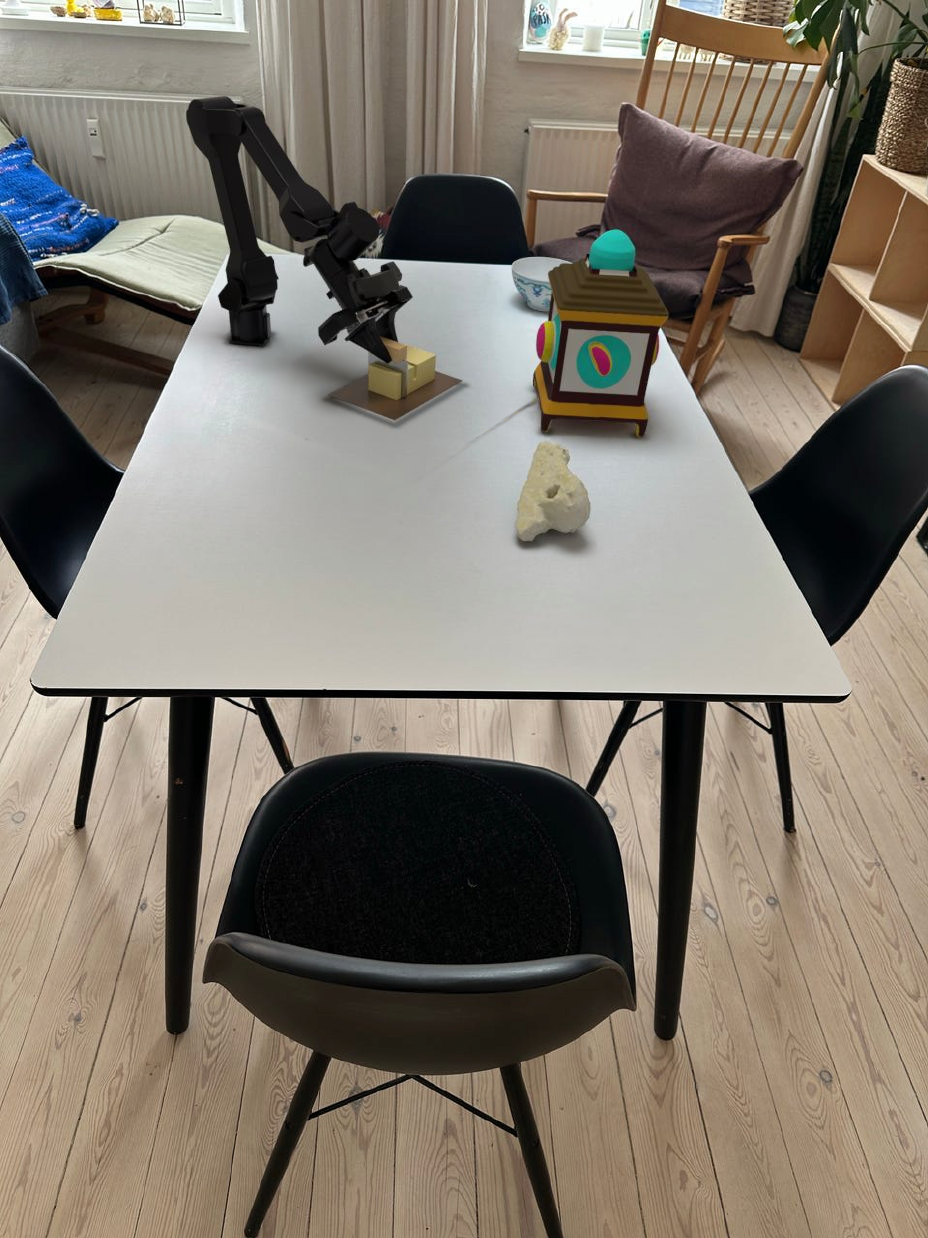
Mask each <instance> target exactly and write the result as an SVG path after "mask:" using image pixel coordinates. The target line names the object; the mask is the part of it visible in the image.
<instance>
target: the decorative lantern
mask: <svg viewBox="0 0 928 1238" xmlns="http://www.w3.org/2000/svg"><path fill="white" fill-rule="evenodd" d="M635 260H636V248H635V245H634V244H633V242H632V240H631V238H630V237H629V236H628V234H626V232H624V231H622V230H620V229H611V230H608V231H606V232H604V233H603V234H601V235H600V236H598V238H597V239H595V241H593V242H592V245H591V247H590V250H589V253H586V254H585V257H584V258H583V257H582V258H579V259H578V261H573V262H571V263H572V264H569V263H562V264H560V266H559V267H554V268H553V270H550V271H549V272H548V278H549V283H550V286H551V290H552V293H551V301H550V309H549V311H548V316H547V321H543V322H542V323H541V324H540V326H539V328H538V329H537V333H536V339H535V350H536V355H537V358H538V360H540V362H539V363H538V365H537V366H536V368H535V369H534V371H533V375H532V387H534V388H536V392H537V398H538V403H539V407H540V412H541V413H540V416H541V417H540V430H541V431H542V433H548V432H549V430H550V427H551V423H552V422H553V421H554V420H573V421H575V420H576V421H591V422H592V421H593V422H610V423H628V424H636V426H635V435H636V437H637V438H643V437H644V436H645V434H646V432H647V430H648V429H647V428H648V423H649V416H648V411H647V407H646V403H645V398H646V394H647V393H646V392H647V388H648V385H649V384H648V383H649V379H650V375H651V369H652V366H653V365H654V364H655V363H656V361H657V359H658V355H659V352H660V335H659V333H660V330H661V328H662V327H663V325H665V323H666V322H667V321H668V318H669V316H670V313H669V311H668V309H667V307H666V305H665V302H664V301H663V300H662V297H661V296H660V294H659V292H658V289H657V288H656V286H655V284H654V281H653V280H652V278H651V276H650V274H649V273H647V272H646V270H645V268H641V267H637V266H636V265H635Z"/></svg>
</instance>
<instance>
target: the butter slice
mask: <svg viewBox="0 0 928 1238" xmlns="http://www.w3.org/2000/svg"><path fill="white" fill-rule="evenodd" d="M401 380H402V373H400V372H398V371H395V370H392V369H389V368H386V367H384V366H381V365H378V364H375V363H371V364H369V385H368V390H370V391H373V392H376V393H378V394H381V395H384V396H386V397H389V398H392V399H394V400H398V399H400V398H401Z"/></svg>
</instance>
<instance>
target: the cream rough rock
mask: <svg viewBox="0 0 928 1238" xmlns="http://www.w3.org/2000/svg"><path fill="white" fill-rule="evenodd" d="M569 451H570V450H569V448H567V447H563V446H562V445H561V444H560V443H559V442H556V443H553V442H550V441H541V442H539V443H538V444H537V446H536V449H535V450H534V452H533V455H532V460H531V464H530V467H529V469H528V473H527V476H526V480H525V481H524V484H523V486H522V488H521V491H520V494H519V499H518V501H517V502H516V505H517V506H516V510H517V518H516V521H515V529H516V530H515V531H516V534H517V537H518V538H519V540H521V541H522V542H528V541H529V542H533V541H534V539H535V538H536V536H538V535H540V534H546V533H547V532H548V531H549V530H550V529H551V530H555V531H559V532H561V533H565V534H568V533H576V531H577V530H579V529H580V528H581V527H583V526H585V525H586V523H587V522H588V520H589V519H590V516H591V511H592V510H591V509H592V508H591V502H590V499H589V492H588V489H587V488H586V487H585V484H584V483H583V482H582V480H580V478H579V477H578V476H577V475H576V474H574V473H573V472H572V471H571V470H570V468H569V466H568V464H569V462H570V460H571V455H570V452H569Z"/></svg>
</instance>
